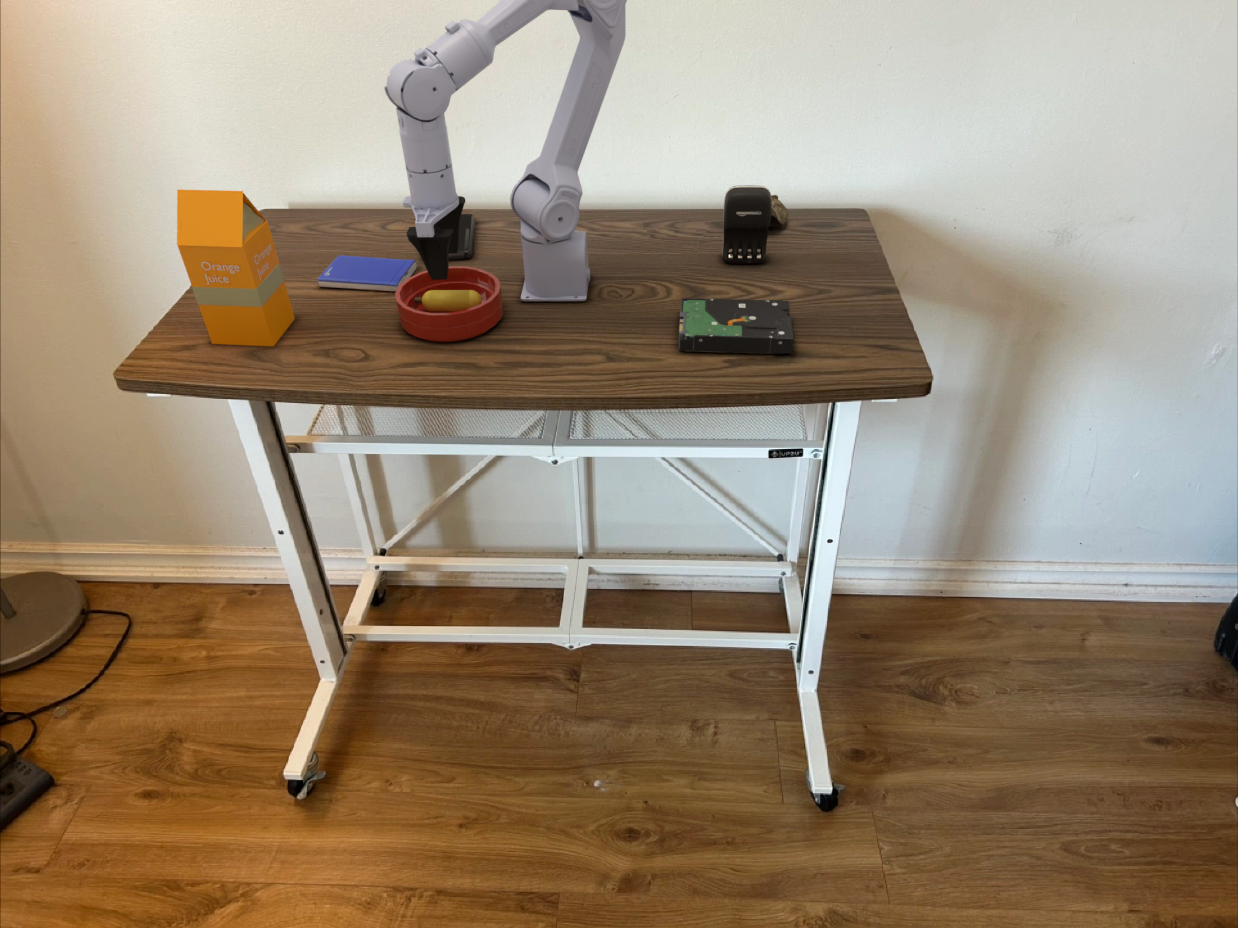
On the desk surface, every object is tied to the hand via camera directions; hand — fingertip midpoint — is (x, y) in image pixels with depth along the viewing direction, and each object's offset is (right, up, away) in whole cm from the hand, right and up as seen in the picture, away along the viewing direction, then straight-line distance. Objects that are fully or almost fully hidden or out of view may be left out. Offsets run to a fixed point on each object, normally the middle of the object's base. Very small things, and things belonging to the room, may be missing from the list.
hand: (444, 265), depth 120 cm
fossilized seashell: (+46, +12, +27) cm, 55 cm away
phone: (-4, +10, +25) cm, 27 cm away
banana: (0, -5, +4) cm, 7 cm away
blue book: (-15, +1, +15) cm, 21 cm away
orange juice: (-27, -9, +3) cm, 29 cm away
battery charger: (+43, +4, +17) cm, 46 cm away
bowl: (0, -6, +5) cm, 8 cm away
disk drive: (+39, -9, 0) cm, 40 cm away
